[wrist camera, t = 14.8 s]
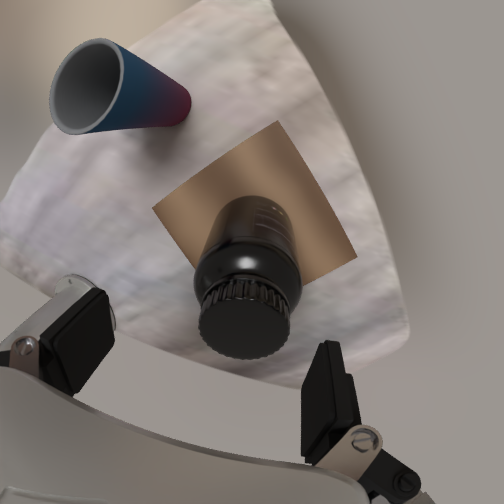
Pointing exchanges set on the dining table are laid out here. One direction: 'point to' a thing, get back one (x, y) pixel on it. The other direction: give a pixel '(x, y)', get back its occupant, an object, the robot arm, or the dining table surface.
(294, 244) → the supplement bottle
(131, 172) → the dining table surface
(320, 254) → the walnut block
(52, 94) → the cup
